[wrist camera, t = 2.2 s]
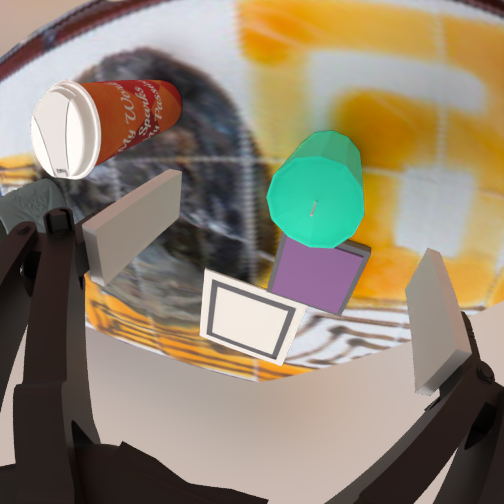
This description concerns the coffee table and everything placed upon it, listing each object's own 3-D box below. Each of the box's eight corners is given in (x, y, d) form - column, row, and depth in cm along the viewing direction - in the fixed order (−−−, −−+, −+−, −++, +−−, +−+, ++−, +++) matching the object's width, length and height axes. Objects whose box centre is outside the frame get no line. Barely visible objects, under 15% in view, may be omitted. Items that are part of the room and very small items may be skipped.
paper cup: (195, 137, 29) (96, 184, 18) (136, 142, 31) (38, 186, 20) (188, 63, 25) (79, 69, 14) (128, 76, 27) (22, 96, 16)
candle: (371, 181, 26) (379, 246, 16) (313, 201, 29) (285, 272, 19) (346, 120, 24) (340, 145, 14) (285, 144, 26) (240, 185, 17)
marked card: (308, 303, 35) (307, 305, 35) (282, 364, 42) (281, 366, 42) (206, 267, 37) (204, 269, 37) (200, 334, 45) (199, 336, 44)
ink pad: (370, 247, 29) (371, 255, 28) (341, 310, 34) (340, 318, 33) (286, 219, 30) (283, 225, 29) (268, 286, 36) (265, 293, 34)
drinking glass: (52, 233, 46) (4, 269, 36) (28, 184, 42) (-23, 215, 32) (77, 218, 41) (21, 259, 31) (51, 161, 37) (-11, 193, 27)
